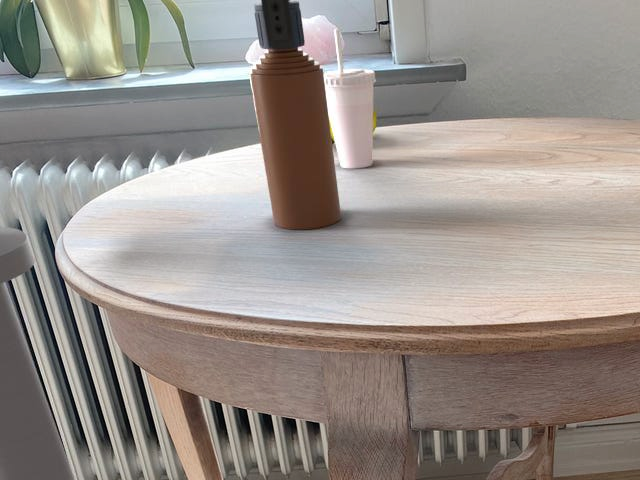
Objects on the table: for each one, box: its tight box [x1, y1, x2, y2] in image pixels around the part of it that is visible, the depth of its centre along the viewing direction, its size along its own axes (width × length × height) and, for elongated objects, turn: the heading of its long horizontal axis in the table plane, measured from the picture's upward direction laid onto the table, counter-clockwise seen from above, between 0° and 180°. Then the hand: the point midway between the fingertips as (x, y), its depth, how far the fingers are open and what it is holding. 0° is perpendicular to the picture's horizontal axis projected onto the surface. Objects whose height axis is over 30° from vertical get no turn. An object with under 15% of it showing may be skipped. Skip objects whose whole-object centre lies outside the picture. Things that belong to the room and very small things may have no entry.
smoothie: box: [323, 28, 377, 169], centre depth 99 cm, size 6×6×14 cm
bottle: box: [248, 47, 342, 231], centre depth 80 cm, size 6×6×18 cm
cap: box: [253, 0, 306, 50], centre depth 76 cm, size 4×4×3 cm
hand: (282, 43), depth 76 cm, fingers closed on cap, 3 cm apart
